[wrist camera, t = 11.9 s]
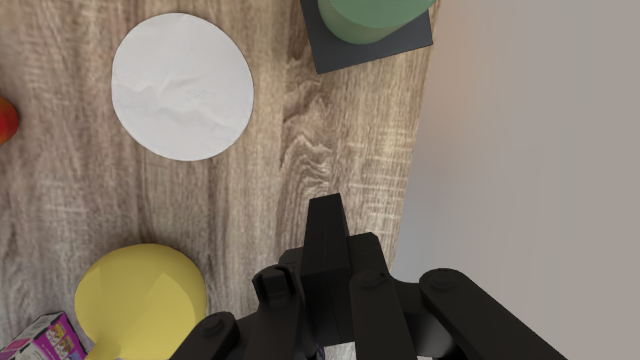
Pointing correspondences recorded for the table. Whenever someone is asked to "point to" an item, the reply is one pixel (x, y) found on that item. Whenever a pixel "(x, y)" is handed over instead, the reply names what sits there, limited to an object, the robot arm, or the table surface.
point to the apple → (7, 121)
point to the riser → (342, 54)
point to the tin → (369, 17)
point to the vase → (140, 302)
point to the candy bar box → (46, 341)
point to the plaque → (181, 87)
